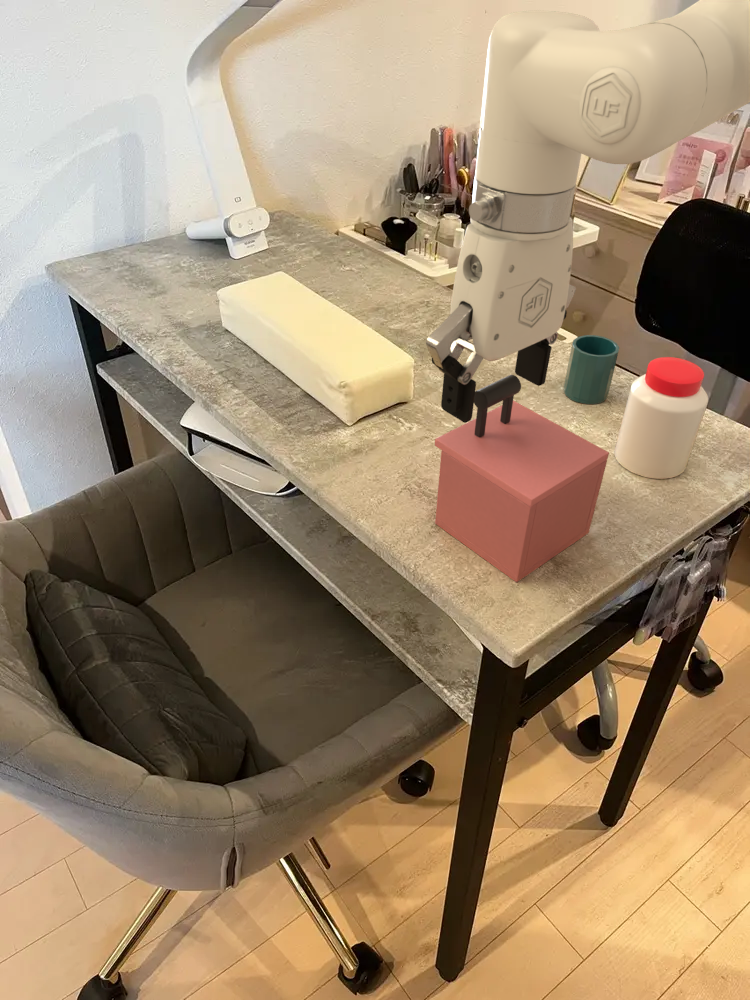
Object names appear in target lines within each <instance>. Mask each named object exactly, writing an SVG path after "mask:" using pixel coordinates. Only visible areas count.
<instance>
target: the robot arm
mask: <svg viewBox="0 0 750 1000" xmlns="http://www.w3.org/2000/svg"><path fill="white" fill-rule="evenodd" d="M485 62H486V63H485V70H484V71H485V72H484V80H483V81H484V82H483V92H482V101H481V113H480V121H479V130H478V131H479V132H478V141H477V150H476V159H475V161H476V162H475V170H474V179H473V188H472V196H471V197H472V199H471V204H470V205H469V206H468V215H469V217H470V219H469V220H470V223H469V224H467V226H466V229H465V232H464V236H463V239H462V240H463V241H462V244H461V247H460V252H459V255H458V256H459V257H458V261H457V265H456V269H455V270H456V271H455V276H454V281H453V287H452V295H451V302H450V310H449V315H448V317H446V318H445V319H444V320H443V322H441V323H440V324H439V326H438V327H436V328H435V329H434V330H433V331H432V332H431V334H430V335H429V336H428V337H427V338H426V341H425V345H426V348H427V350H428V353H429V355H430V358H431V363H432V364H433V365H434V366H435V367H436V368H438V371H439V372H441V373H443V379H442V380H443V381H442V391H441V402H440V403H441V404H440V406H441V407H440V408H441V409H442V410H443V411H444V412H446V413H447V414H449V415H451V416H452V417H454V418H456V419H457V420H458V421H460V422H462V423H464V424H466V423H468V422H470V421H472V418H473V413H474V406H475V404H474V397H475V391H476V390H477V389H476V388H477V382H476V380H474V379H472V378H473V377H474V375H475V373H476V372H477V370H478V368H479V367H480V366H481V363H482V362H483V360H486V361H487V362H494V361H495V362H496V361H499V360H501V359H504V358H506V357H509V356H510V355H512V354H513V355H514V354H515V353H517V355H516V362H515V367H514V373H515V375H516V376H517V377H521V378H522V379H524V380H526V381H528V382H530V383H532V384H533V385H535V386H538V387H539V386H542V385H544V384H546V378H547V373H548V369H549V363H550V358H551V353H552V346H551V345H554V344H555V343H556V342H557V340H558V337H559V332H558V331H560V329H561V328H562V326H563V322H564V320H565V319H566V318H567V314H568V312H567V309H568V308H569V306H570V304H571V302H572V300H573V297H574V295H575V293H576V291H577V288H576V287H577V286H575V285H572V284H571V273H572V264H573V254H574V227H573V226H574V225H573V218H572V217H571V214H572V208H573V203H574V198H575V197H574V196H575V192H576V186H577V180H578V174H579V169H580V163H581V159H582V155H583V156H586V157H588V158H590V159H593V160H596V161H599V162H602V163H606V164H611V165H630V164H635V163H639V162H641V161H644V160H646V159H649V158H651V157H653V156H655V155H657V154H658V153H660V152H662V151H664V150H667V149H668V148H670V147H672V146H673V145H675V144H676V143H679V142H680V141H682V140H684V139H686V138H687V137H690V136H692V135H694V134H696V133H698V132H700V131H703V130H704V129H706V128H707V127H709V126H711V125H712V124H714V123H716V122H718V121H720V120H721V119H723V118H725V117H726V116H728V115H730V114H731V113H733V112H735V111H738V110H739V109H741V108H742V107H744V106H746V105H747V104H749V103H750V0H697V1H696V2H695V3H693V4H691V5H690V6H688V7H686V8H685V9H684V10H682V11H680V12H678V13H677V14H675V15H673V16H670V17H665V18H661V19H658V20H654V21H651V22H646V23H643V24H640V25H639V24H638V25H636V26H631V27H630V26H629V27H627V28H622V29H613V30H611V29H610V30H600V29H599V26H598V24H597V23H596V22H595V21H594V20H593V19H591V18H589V17H587V16H585V15H581V14H576V13H573V12H572V13H571V12H567V11H556V10H522V11H521V10H520V11H513V12H510V13H508V14H505V15H502V16H501V17H500V18H499V19H498V20H497V21H496V22H495V23H494V25H493V27H492V29H491V31H490V36H489V38H488V45H487V53H486V61H485ZM471 340H472V342H471ZM464 350H465V351H468V352H470V354H469V356H468V357H467V359H466V360H465V363H464V364H463V365H462V363H461V362H459V358H460V356H461V355H462V353H463V351H464Z"/></svg>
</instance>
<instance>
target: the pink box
mask: <svg viewBox="0 0 750 1000" xmlns="http://www.w3.org/2000/svg"><path fill="white" fill-rule="evenodd" d="M439 462H440V463H439V473H438V485H437V497H436V498H437V499H436V510H435V521H434V523H435V525H436V526H438V527H439V528H441V529H442V530H444V532H446V533H447V534H448V535H451V536H452V537H453V538H454V539H456V540H457V541H458V542H460V543H462V544H463V545H464V546H465V547H466V548H468V549H469V550H471V551H472V552H474V554H476V555H478V556H479V557H481V558H482V559H483V560H484V561H486V562H487V563H488V564H490V565H491V566H493V567H494V568H496V569H498V570H499V571H500V572H501V573H503V574H504V575H505V576H507V577H508V578H510V579H511V580H512V581H514V582H515V583H518V582H520V581H521V580H523V579H524V578H526V577H527V576H528V575H530V574H531V573H533V572H534V571H536V570H537V569H539V568H540V567H542V566H543V565H545V564H546V563H547V562H549V561H551V560H552V559H553V558H555V557H556V556H557V555H560V553H562V552H564V551H565V550H566V549H568V548H569V547H570V546H571V547H572V545H573V544H575V543H576V542H578V541H579V540H581V539H582V538H584V537H586V536H587V535H588V534H589V533H590V530H591V526H592V521H593V518H594V513H595V509H596V506H597V503H598V498H599V494H600V490H601V486H602V482H603V478H604V474H605V471H606V467H607V464H608V459H607V460H606V461H604V462H602V463H601V464H599V465H598V466H596V467H594V468H593V469H591V470H589V471H588V472H586V473H585V474H583V475H581V476H580V477H578V478H577V479H575V480H573V481H572V482H570V483H569V484H567V485H565V486H564V487H562V488H560V489H559V490H557V491H556V492H554V493H552V494H551V495H549V496H548V497H546V498H544V499H543V500H541V501H540V502H538V503H536V504H535V505H533V506H531V507H530V506H528V505H527V504H525V503H524V502H522V501H521V500H519V499H517V498H516V497H514V496H513V495H511V494H510V493H508V492H506V491H505V490H503V489H502V488H500V487H499V486H497V485H496V484H494V483H492V482H491V481H489V480H488V479H486V478H485V477H483V476H481V475H480V474H478V473H477V472H475V471H474V470H472V469H470V468H469V467H467V466H466V465H464V464H463V463H461V462H460V461H458V460H456V459H455V458H453V457H452V456H450V455H449V454H447V453H445V452H444V451H442V450H441V451H440V461H439Z"/></svg>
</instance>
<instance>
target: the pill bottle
mask: <svg viewBox="0 0 750 1000" xmlns="http://www.w3.org/2000/svg"><path fill="white" fill-rule="evenodd" d="M704 378H705V371H704V370H703V369H702V368H701V366H699V365H697V364H696V363H694V362H692V361H690V360H687V359H684V358H680V357H673V356H672V357H671V356H662V357H657V358H653V359H652V360H650V362H649V363H648V364H647V367H646V371H645V373H644V374H642V375H639V376H638V377H636V378H635V379H633V381H632V383H631V385H630V389H629V391H628V396H627V398H626V399H627V400H626V403H625V408H624V412H623V415H622V419H621V423H620V427H619V430H618V434H617V438H616V443H615V446H614V451H613V454H614V458H615V459H616V461H617V463H619V464H620V466H622V467H623V468H624V469H626V470H627V471H629V472H630V473H633V474H635V475H637V476H641V477H644V478H648V479H654V480H655V479H656V480H664V479H671V478H676V477H678V476H679V475H681V474H683V473H684V472H685V471H686V469H687V466H688V463H689V460H690V457H691V455H692V452H693V448H694V445H695V443H696V440H697V436H698V434H699V431H700V427H701V426H702V422H703V419H704V416H705V412H706V410H707V407H708V403H709V396H708V393H707V391H706V390H705V388H704V387H703V386H702V385H703V381H704Z"/></svg>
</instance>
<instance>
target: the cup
mask: <svg viewBox="0 0 750 1000" xmlns="http://www.w3.org/2000/svg"><path fill="white" fill-rule="evenodd" d="M619 350H620V346H619V344H618V343H617V342H616V341H614V340H613V339H611V338H608V337H606V336H602V335H595V334H584V335H580V336H577V337H576V338H574V339H573V340H572V344H571V348H570V354H569V358H568V363H567V369H566V373H565V378H564V383H563V393H564V395H565V396H566V397H567V398H568V399H570V400H571V401H574V402H576V403H579V404H583V405H584V404H585V405H598V404H602V403H603V402H605V401H606V400H607V399H608V398H609V394H610V389H611V385H612V381H613V376H614V374H615V373H614V372H615V368H616V365H617V360H618V355H619V352H620V351H619Z"/></svg>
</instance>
